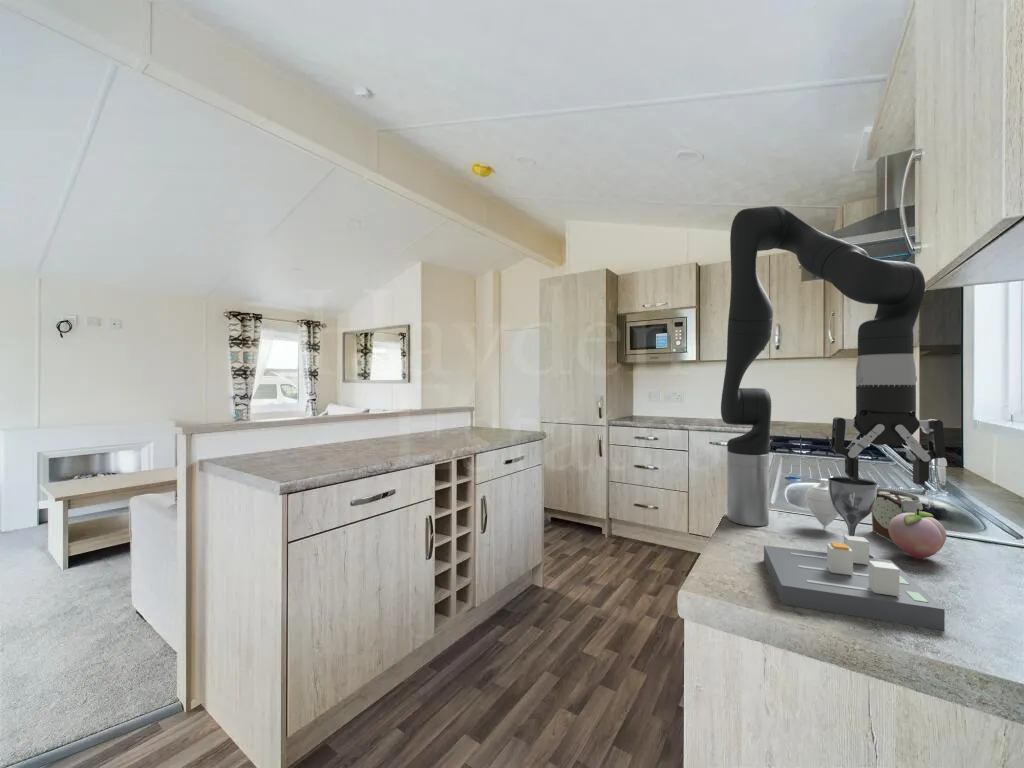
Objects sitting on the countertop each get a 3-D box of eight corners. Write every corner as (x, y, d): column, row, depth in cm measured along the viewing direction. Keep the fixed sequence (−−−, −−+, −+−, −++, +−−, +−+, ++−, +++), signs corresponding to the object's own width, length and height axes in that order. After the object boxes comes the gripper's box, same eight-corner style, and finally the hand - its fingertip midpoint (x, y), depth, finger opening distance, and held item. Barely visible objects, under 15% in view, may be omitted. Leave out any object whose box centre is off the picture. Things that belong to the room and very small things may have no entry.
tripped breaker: (827, 566, 76) (827, 541, 76) (848, 569, 75) (848, 543, 75) (831, 572, 74) (831, 546, 74) (852, 575, 73) (853, 548, 73)
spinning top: (810, 533, 102) (810, 481, 102) (801, 523, 109) (801, 474, 109) (850, 537, 99) (850, 484, 99) (838, 526, 106) (838, 476, 106)
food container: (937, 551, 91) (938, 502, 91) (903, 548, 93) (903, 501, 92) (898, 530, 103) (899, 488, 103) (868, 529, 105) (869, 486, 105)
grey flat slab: (763, 560, 87) (763, 544, 87) (890, 577, 79) (890, 559, 79) (781, 604, 70) (781, 584, 70) (944, 630, 63) (944, 608, 63)
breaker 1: (843, 557, 81) (843, 535, 80) (863, 559, 79) (864, 537, 79) (848, 562, 78) (848, 539, 78) (868, 564, 77) (869, 541, 77)
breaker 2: (868, 585, 69) (868, 560, 69) (892, 589, 68) (892, 563, 68) (874, 592, 67) (874, 566, 67) (899, 596, 66) (899, 569, 66)
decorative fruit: (896, 546, 94) (897, 499, 94) (950, 559, 87) (950, 509, 87) (881, 557, 88) (881, 507, 88) (936, 571, 82) (937, 517, 81)
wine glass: (824, 554, 90) (825, 480, 89) (830, 543, 95) (830, 474, 95) (875, 565, 84) (875, 487, 84) (878, 553, 90) (878, 480, 90)
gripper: (929, 383, 73) (930, 481, 73) (826, 383, 79) (827, 474, 79) (954, 382, 66) (954, 490, 66) (839, 382, 72) (839, 482, 72)
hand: (885, 481), depth 72 cm, fingers open, 8 cm apart
